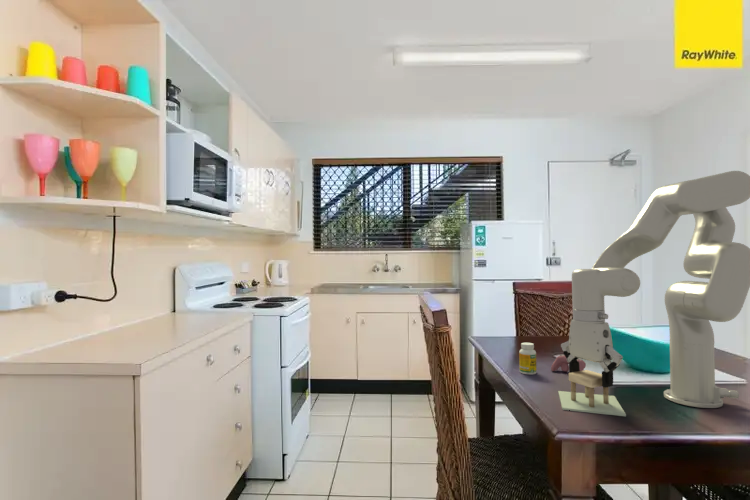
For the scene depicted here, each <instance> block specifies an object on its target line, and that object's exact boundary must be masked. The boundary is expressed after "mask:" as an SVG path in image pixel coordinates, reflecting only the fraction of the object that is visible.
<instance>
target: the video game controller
mask: <svg viewBox="0 0 750 500" xmlns="http://www.w3.org/2000/svg"><path fill="white" fill-rule="evenodd" d="M577 361H578V362H579V368H580V371H583V370H585V368H586V366H587V365H586V362H585V361H584V359H581V358H579V359H578V360H577ZM550 366H551V367H550V369H551V371H552V372H556V371H557V370H558V369H559V368H560V370H561V371H562V372H564V373H567V372H568V371H569V362H567V358H566V357H565V355H564V354H559V355H558V356H556V358H555V360H554V361H553V363H552V364H551V365H550Z"/></svg>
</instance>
